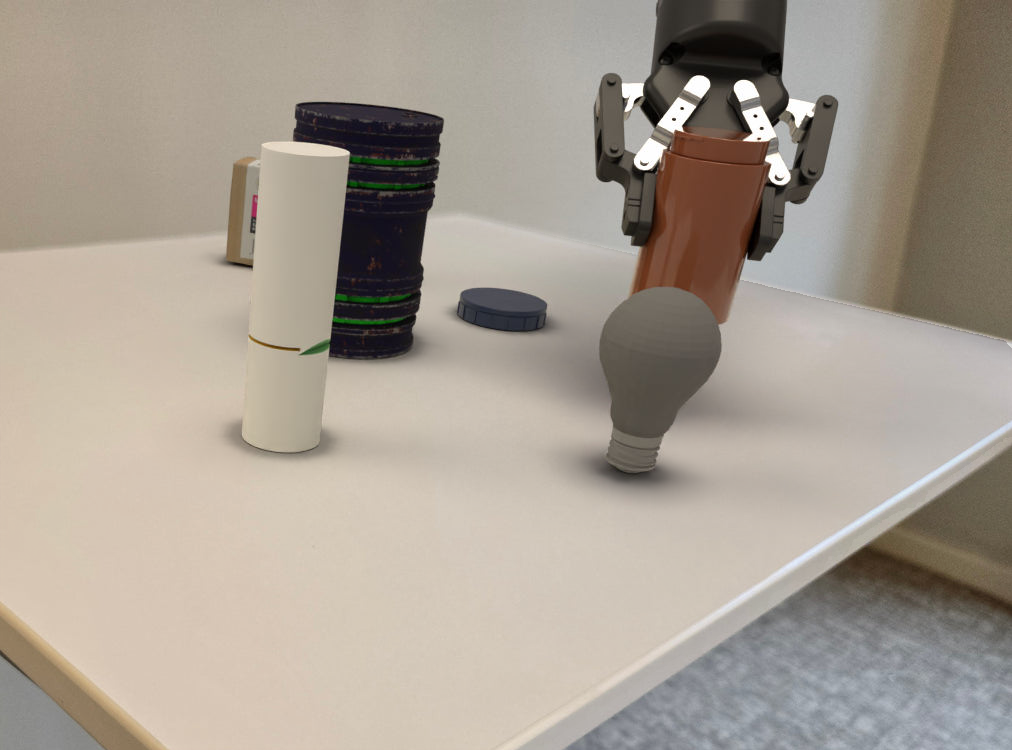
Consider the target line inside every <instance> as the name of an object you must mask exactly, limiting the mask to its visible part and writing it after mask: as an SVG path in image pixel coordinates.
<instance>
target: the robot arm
mask: <svg viewBox="0 0 1012 750" xmlns="http://www.w3.org/2000/svg"><path fill="white" fill-rule="evenodd" d="M655 5H656V6H655V17H656V21H655V22H656V23H655V30H654V31H655V32H654V41H653V48H652V49H653V50H652V59H651V68H650V75H648V77H647V78H646V79H645V80H644V82H643V83H623V80H622V77H621V76H620V75H619V74H617V73H615V72H608V73H605V74H603V76H602V77H601V80H600V84H599V87H598V91H597V93H596V97H595V101H594V104H593V130H594V131H593V133H594V134H593V135H594V136H593V137H594V161H595V163H594V165H595V177H596V179H597V180H598V181H599V182H602V183H611V182H614V183H615V182H616V183H618V184H619V185H621V186H622V188H623V189H624V199H623V200H624V201H623V209H622V217H621V218H622V219H621V226H620V227H621V228H620V229H621V231H622V235H623V236H624V237H625V236H626V237H630V246H631V247H638V248H639V247H643V246H644V244H645V242H646V239H647V237H648V235H649V232H650V229H651V224H652V215H653V205H654V196H655V186H656V176H657V170H658V165H659V161H660V157H661V152H662V149H664V148H668V147H670V145H671V141H672V137H671V133H672V132H674V129H675V128H676V127H685V126H690V127H707V128H717V129H726V130H733V131H739V132H745V133H751V134H755V135H760V136H763V137H766V138H768V139H770V145H769V148H768V152H767V156H766V159H765V160H768V161H770V162H771V163H772V166H771V169H770V173H769V176H768V180H767V184H766V187H765V191H764V194H763V198H762V201H761V205H760V209H759V212H758V216H757V219H756V223H755V226H754V230H753V234H752V237H751V241H750V244H749V248H748V251H747V255H746V260H747V261H753V262H761V261H762V260H763V258H764V257H765V255H766V254H767V253H768V254H771V253H772V251H773V250H774V248H775V246H776V245H777V244H778V242H779V241H780V239H781V237H782V235H783V234H784V228H785V227H784V226H785V215H786V214H785V213H786V203H787V202H788V203H791V204H793V205H802V204H805V203H806V201H807V200H808V199H809V197H810V196H811V193H812V191H813V189H814V188H815V186H816V184H817V183H818V182H819V181H821V178H822V176H823V175H824V171H825V168H826V163H827V159H828V154H829V149H830V145H831V141H832V135H833V131H834V127H835V122H836V118H837V114H838V109H839V101H838V99H837V98H836V97H835V96H833V95H831V94H823V95H821V96H819V97H818V98H817V100H816V102H815V103H813V102H810V101H804V100H800V99H794V98H790V94H789V91H788V89H787V88H786V86H785V85H784V81H783V68H784V59H785V58H784V57H785V56H784V55H785V41H786V25H787V11H788V0H657V2H656V4H655ZM636 107H637V108H638V107H639V109H640V111H641V112H642V113H643V115H644V116H645V118H646V120H647V121H648V122H649V124H650V125H651V126H652V127H653V131H652V133H651V134H650V137H649V138H648V139H647V140H646V142H645V143H644V145H643V146H642V147H641V149H639V151H638V152H637V153H634V152H631V151H629V150H627V149H626V143H625V122H626V121H627V120H629V118H630V116H631V113H632V111H633V110H634V109H635V108H636ZM780 122H783V123H785V124H786V125H787V126H788V129H789V136H790V137H791V138H790V141H791V143H792V144H794V145H795V144H797V147H796V151H795V154H794V160H793V165H792V168H791V169H788V167H787V165H786V162H785V161H784V158H783V156H782V155H781V153H780V150H779V145H780V144H779V141H780V140H779V137H778V135H777V133H776V131H775V129H774V128H775V126H776V125H778V124H779V123H780Z"/></svg>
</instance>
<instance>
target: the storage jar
mask: <svg viewBox="0 0 1012 750" xmlns="http://www.w3.org/2000/svg"><path fill="white" fill-rule="evenodd" d="M294 107H295V108H294V119H295V121H296V122H295V127H294V128H293V130H292V131H293V132H292V142H304V143H314V144H322V145H328V146H333V147H338V148H341V149H345V150H347V151H349V152H350V156H349V166H348V176H347V185H346V195H345V204H344V214H343V223H342V233H341V243H340V252H339V262H338V271H337V281H336V291H335V300H334V310H333V319H332V328H331V338H330V342H329V345H330V347H329V357H336V358H343V359H357V360H358V359H359V360H365V359H366V360H369V359H370V360H372V359H373V360H375V359H385V358H391V357H396V356H400V355H403V354H405V353H407V352H409V351H410V350H411V349H412V348H413V345H414V344H413V343H414V334H413V330H414V326H415V325H416V324H417V323H416V322H417V313H418V312H419V310H420V308H421V307H420V305H421V301H422V300H421V298H422V291H421V288H422V287H423V282H424V280H425V277H424V273H425V272H424V271H425V269H424V266H423V264H422V257H423V249H424V241H425V235H426V229H427V228H426V227H427V222H428V221H427V220H428V214H429V211H430V210H431V209H432V208H433V206H434V200H435V198H436V194H435V191H436V183H435V182H436V181H437V180H438V179H439V178H438V177H439V172H440V164H441V162H440V160H438V159H437V158H438V157H440V153H441V146H442V144H441V141H440V138H441V135H442V133H443V131H444V125H445V119H444V118H443V117H442V116H441V115H436V114H433V113H429V112H426V111H425V112H424V111H420V110H416V109H415V110H414V109H410V108H409V109H408V108H402V107H395V106H387V105H378V104H368V103H357V102H345V101H344V102H341V101H305V102H304V101H303V102H298V103H296V104H295V106H294Z"/></svg>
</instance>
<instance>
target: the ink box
mask: <svg viewBox="0 0 1012 750" xmlns="http://www.w3.org/2000/svg"><path fill="white" fill-rule="evenodd" d="M260 159H261V158H256V157H254V156H245V157H243V158H240V159H238V160H236V161H235V162H233V164H232V174H231V183H230V194H229V205H228V206H229V207H228V221H227V222H228V223H227V237H226V252H225V253H226V254H225V260H226V261H227V262H232V263H235V264H236V263H238V264H243V265H248V266H253V262H254V247H255V233H256V218H257V203H258V189H259V174H260Z"/></svg>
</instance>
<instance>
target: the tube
mask: <svg viewBox="0 0 1012 750" xmlns="http://www.w3.org/2000/svg"><path fill="white" fill-rule="evenodd" d="M349 156H350V152H349V151H347V150H345V149H341V148H338V147H333V146H328V145H322V144H314V143H304V142H293V141H268V142H263V143H262V144H261V147H260V158H259V159H260V174H259V189H258V203H257V218H256V233H255V247H254V262H253V265H252V279H251V292H250V293H251V294H250V306H249V307H250V308H249V309H250V310H249V320H248V321H249V322H248V337H247V351H246V352H247V353H246V364H245V365H246V367H245V379H244V381H245V382H244V394H243V396H244V397H243V410H242V423H241V424H242V426H241V438H242V439H243V440H244V441H245V442H246V443H247V444H250V445H251V446H253V447H255V448H258V449H262V450H264V451H269V452H275V453H289V454H290V453H301V452H306V451H309V450H312V449H315V448H316V447H317V446H318V445H319V444H320V442H321V431H322V424H323V423H322V422H323V415H324V414H323V413H324V403H325V394H326V386H327V385H326V383H327V375H328V374H327V373H328V364H329V357H330V356H329V347H330V345H329V342H330V338H331V328H332V319H333V310H334V300H335V291H336V281H337V271H338V262H339V252H340V243H341V233H342V223H343V214H344V204H345V195H346V185H347V176H348V166H349Z"/></svg>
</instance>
